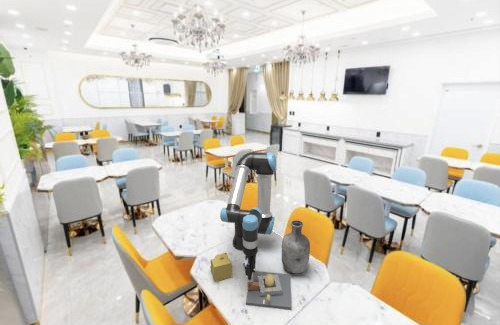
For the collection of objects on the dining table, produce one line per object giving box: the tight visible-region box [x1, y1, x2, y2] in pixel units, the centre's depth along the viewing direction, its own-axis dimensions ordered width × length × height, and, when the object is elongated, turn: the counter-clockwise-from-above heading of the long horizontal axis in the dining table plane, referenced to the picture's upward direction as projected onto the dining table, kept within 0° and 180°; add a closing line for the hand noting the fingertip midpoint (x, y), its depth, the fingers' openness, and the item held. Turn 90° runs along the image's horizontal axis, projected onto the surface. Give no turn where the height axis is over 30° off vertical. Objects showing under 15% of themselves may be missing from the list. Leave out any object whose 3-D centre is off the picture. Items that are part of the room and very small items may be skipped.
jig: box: [245, 270, 292, 311], centre depth 122 cm, size 22×22×8 cm
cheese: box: [210, 252, 233, 282], centre depth 133 cm, size 10×11×10 cm
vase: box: [281, 219, 311, 274], centre depth 134 cm, size 16×16×30 cm
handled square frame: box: [246, 275, 282, 296], centre depth 122 cm, size 17×11×2 cm, turn 95°
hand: (250, 282), depth 124 cm, fingers closed
